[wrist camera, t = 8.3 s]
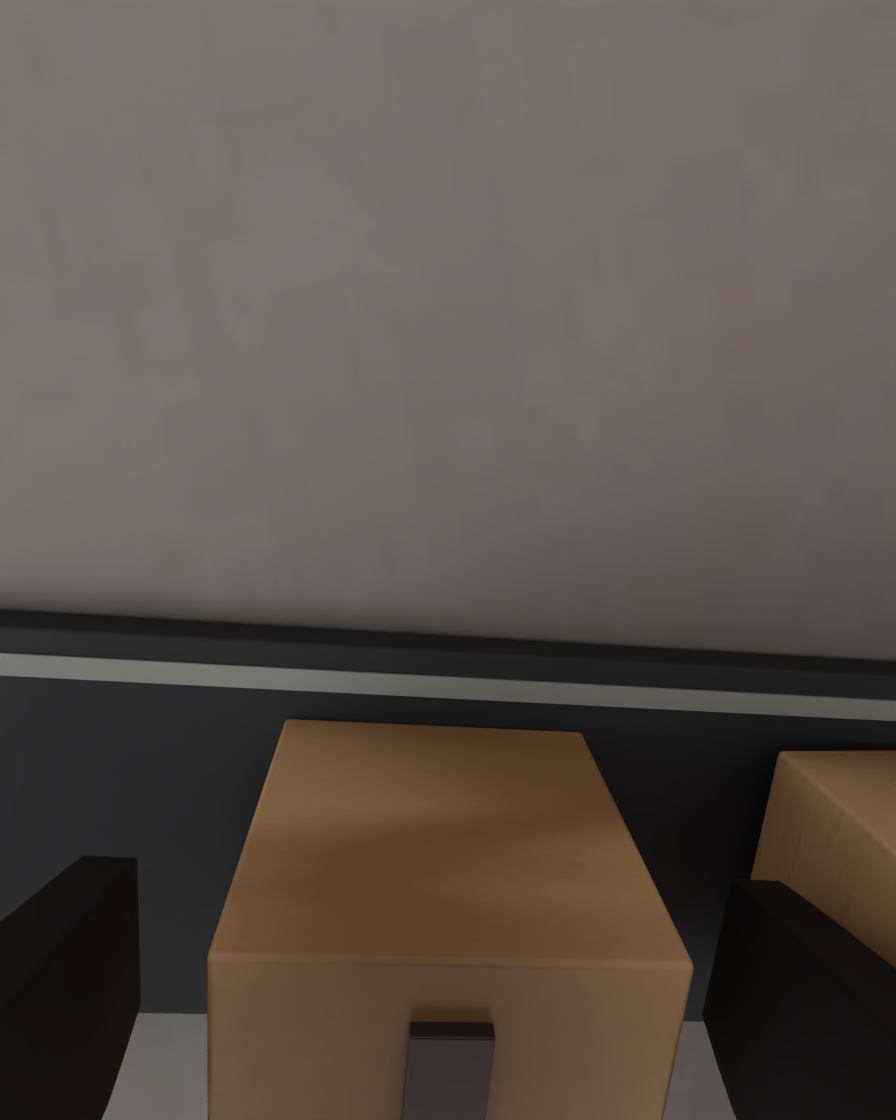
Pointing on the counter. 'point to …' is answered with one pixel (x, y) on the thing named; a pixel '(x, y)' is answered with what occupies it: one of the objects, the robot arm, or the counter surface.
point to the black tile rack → (394, 698)
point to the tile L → (836, 838)
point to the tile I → (441, 936)
